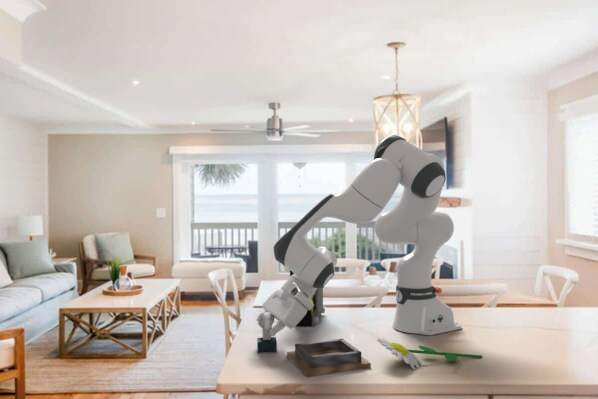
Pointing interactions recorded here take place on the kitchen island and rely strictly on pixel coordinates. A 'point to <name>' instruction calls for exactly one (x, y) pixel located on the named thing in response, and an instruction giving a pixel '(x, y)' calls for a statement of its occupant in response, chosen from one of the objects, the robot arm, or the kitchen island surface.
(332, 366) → the dock
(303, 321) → the electrical component
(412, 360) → the decorative flower
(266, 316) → the watch
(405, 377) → the kitchen island surface
